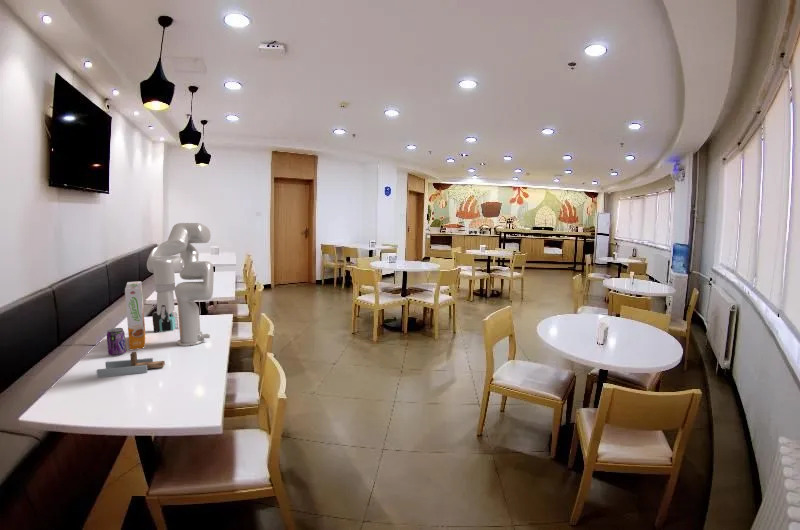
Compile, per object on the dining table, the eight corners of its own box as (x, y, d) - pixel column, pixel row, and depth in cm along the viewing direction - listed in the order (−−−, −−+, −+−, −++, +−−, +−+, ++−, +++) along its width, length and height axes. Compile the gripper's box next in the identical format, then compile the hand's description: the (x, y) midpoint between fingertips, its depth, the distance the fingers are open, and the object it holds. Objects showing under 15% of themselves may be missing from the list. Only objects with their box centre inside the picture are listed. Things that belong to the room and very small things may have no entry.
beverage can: (117, 357, 196) (115, 332, 194) (104, 356, 197) (102, 331, 195) (129, 352, 203) (127, 328, 201) (117, 351, 204) (115, 327, 202)
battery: (167, 329, 240) (166, 309, 239) (167, 331, 237) (166, 311, 235) (153, 331, 237) (152, 311, 235) (153, 332, 233) (151, 312, 232)
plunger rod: (164, 364, 185) (163, 349, 184) (163, 367, 182) (161, 351, 182) (133, 367, 182) (132, 352, 181) (131, 369, 179) (130, 354, 178)
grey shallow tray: (153, 364, 187) (152, 357, 187) (146, 372, 178) (146, 365, 177) (106, 368, 182) (106, 361, 182) (97, 377, 173) (96, 370, 172)
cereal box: (144, 347, 209) (140, 288, 205) (129, 349, 206) (124, 289, 202) (145, 335, 228) (141, 281, 224) (131, 337, 225) (127, 282, 221)
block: (175, 327, 186) (174, 316, 185) (173, 330, 181) (172, 319, 180) (163, 328, 184) (162, 317, 184) (160, 331, 180) (159, 320, 179)
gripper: (160, 284, 187) (163, 323, 190) (149, 292, 171) (153, 335, 174) (179, 283, 189) (182, 322, 192) (170, 291, 173) (173, 333, 176)
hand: (168, 328), depth 183 cm, fingers closed on block, 5 cm apart
